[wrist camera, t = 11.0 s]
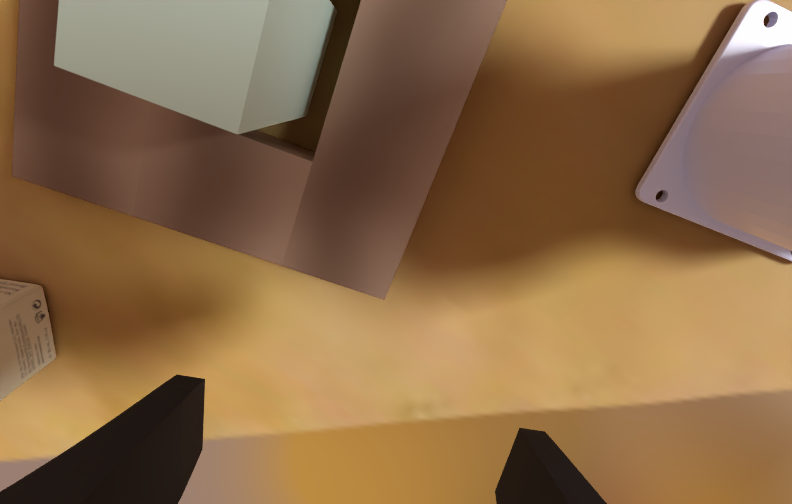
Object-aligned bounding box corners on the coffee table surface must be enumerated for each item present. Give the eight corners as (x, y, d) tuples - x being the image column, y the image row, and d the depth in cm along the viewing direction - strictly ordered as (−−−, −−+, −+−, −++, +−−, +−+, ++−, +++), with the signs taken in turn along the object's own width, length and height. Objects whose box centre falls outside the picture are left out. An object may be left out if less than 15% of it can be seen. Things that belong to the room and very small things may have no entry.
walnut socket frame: (533, -86, 14) (553, -113, 13) (385, 280, 19) (384, 300, 18) (89, -301, 13) (35, -370, 11) (52, 167, 18) (11, 176, 16)
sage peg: (337, 11, 16) (285, -65, 8) (306, 116, 17) (237, 134, 9) (232, -34, 15) (71, -159, 8) (209, 78, 16) (53, 65, 9)
